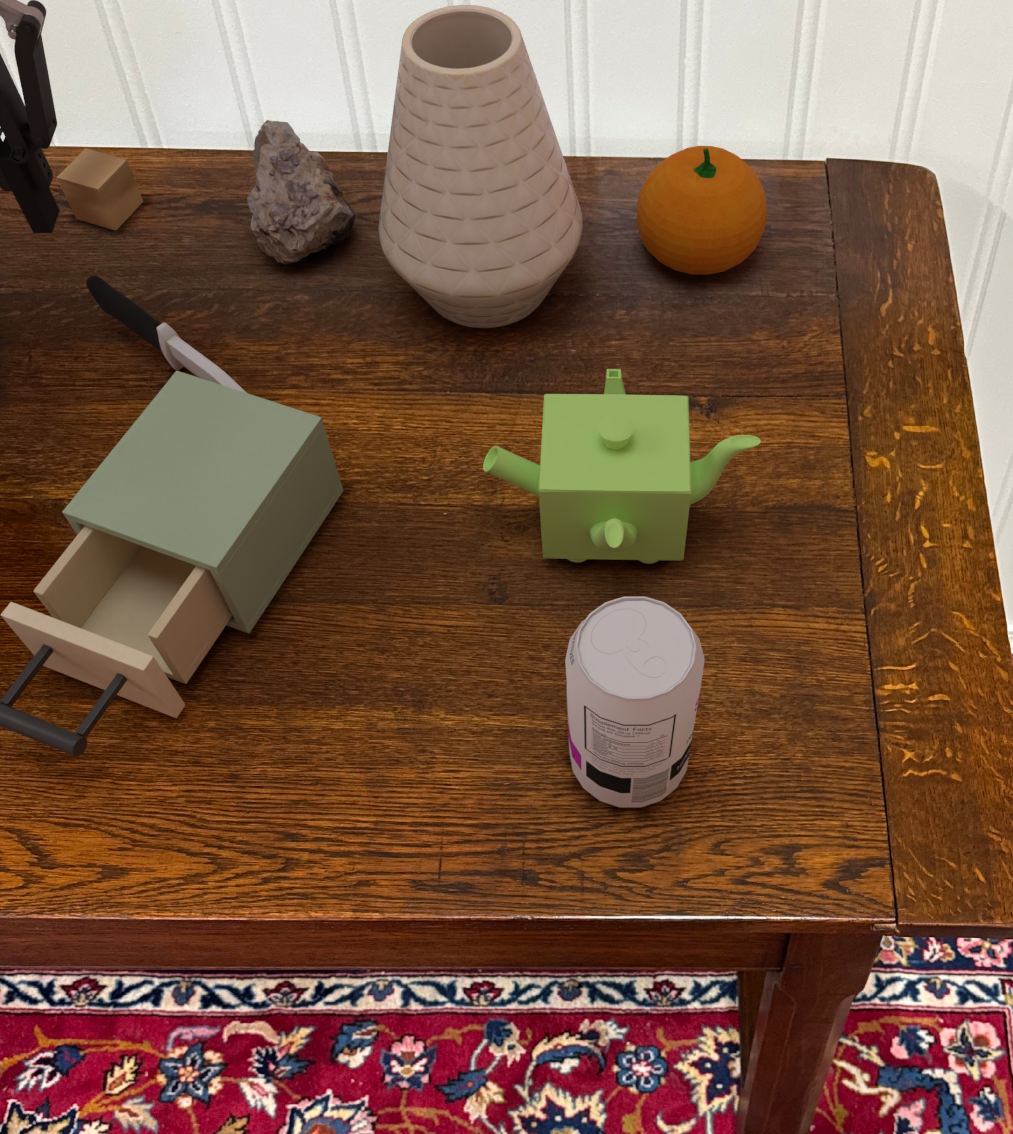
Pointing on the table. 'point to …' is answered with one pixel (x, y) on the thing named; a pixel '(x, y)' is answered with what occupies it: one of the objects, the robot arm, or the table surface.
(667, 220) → the fruit
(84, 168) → the block
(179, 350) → the knife
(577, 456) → the kettle
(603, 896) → the table surface
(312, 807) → the table surface
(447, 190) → the vase
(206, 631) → the drawer
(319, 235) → the rock
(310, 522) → the cabinet
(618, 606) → the supplement can
